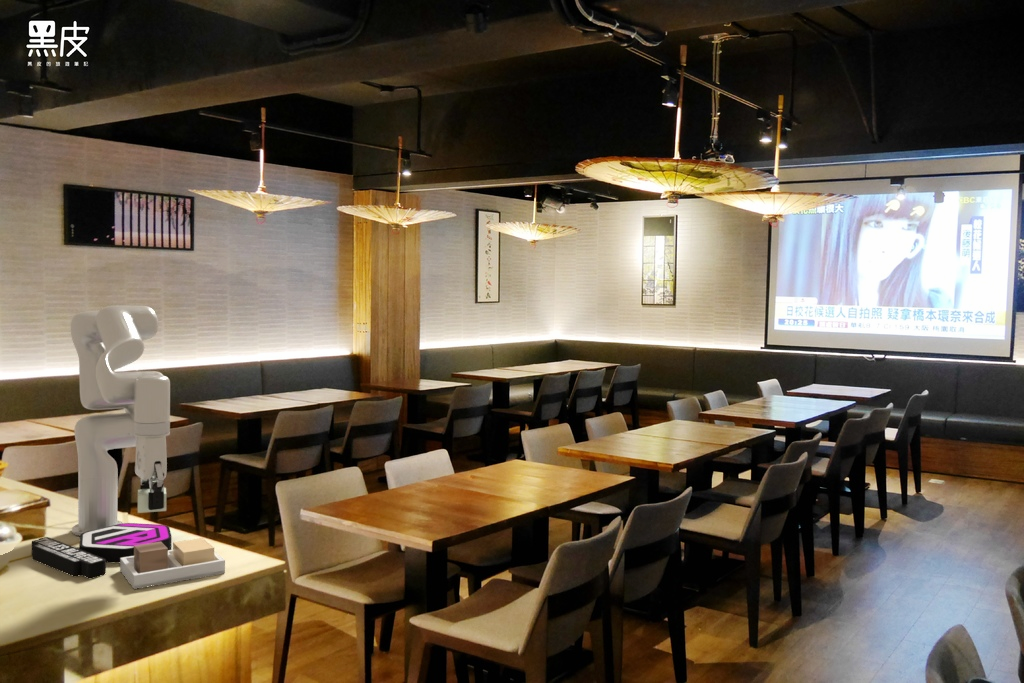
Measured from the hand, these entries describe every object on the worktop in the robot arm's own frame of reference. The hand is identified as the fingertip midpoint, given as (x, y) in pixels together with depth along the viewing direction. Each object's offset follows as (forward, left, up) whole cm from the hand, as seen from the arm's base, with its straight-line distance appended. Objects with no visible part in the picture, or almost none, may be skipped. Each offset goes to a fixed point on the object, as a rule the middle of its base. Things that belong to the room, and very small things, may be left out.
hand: (151, 504), depth 192 cm
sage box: (0, 0, -1) cm, 1 cm away
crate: (0, +5, -17) cm, 18 cm away
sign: (-23, -4, -18) cm, 29 cm away
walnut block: (-1, 0, -16) cm, 16 cm away
